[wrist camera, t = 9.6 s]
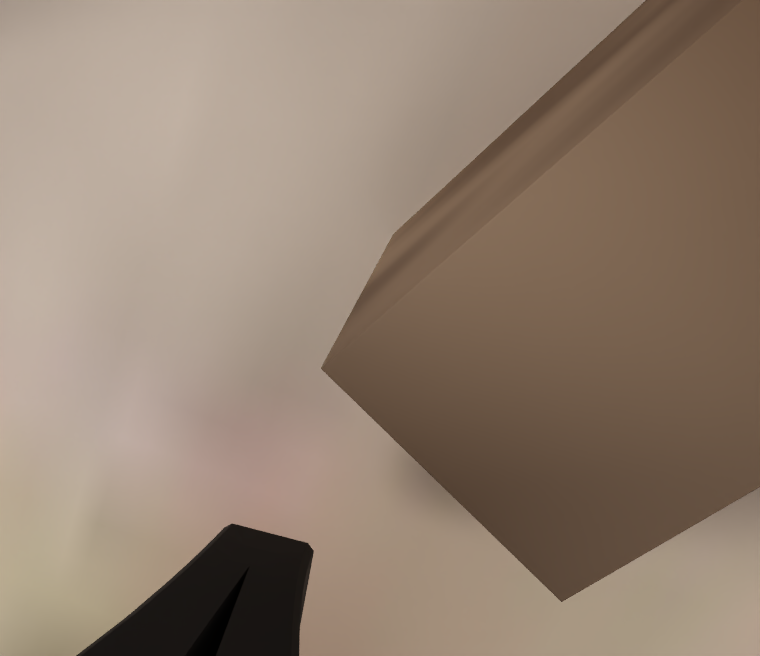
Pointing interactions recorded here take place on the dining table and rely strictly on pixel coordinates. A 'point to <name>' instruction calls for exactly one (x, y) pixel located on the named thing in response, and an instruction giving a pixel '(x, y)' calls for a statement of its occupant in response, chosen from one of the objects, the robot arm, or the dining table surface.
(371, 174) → the dining table surface
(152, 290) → the dining table surface
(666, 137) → the slat
